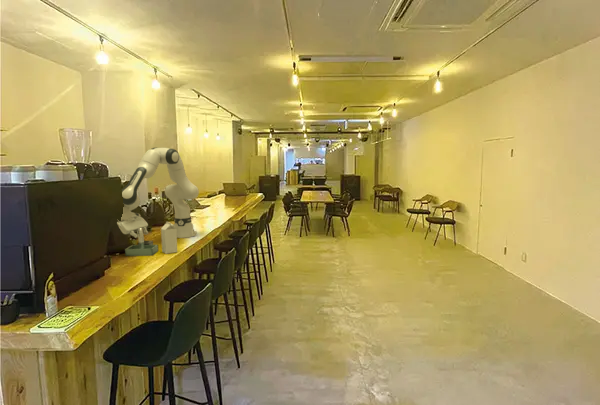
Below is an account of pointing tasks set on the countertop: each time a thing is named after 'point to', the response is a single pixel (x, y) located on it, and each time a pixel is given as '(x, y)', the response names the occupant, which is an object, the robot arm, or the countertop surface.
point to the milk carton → (169, 238)
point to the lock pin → (141, 238)
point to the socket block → (147, 243)
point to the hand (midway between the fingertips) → (142, 235)
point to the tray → (141, 250)
